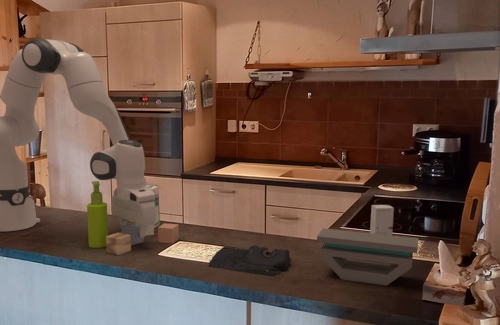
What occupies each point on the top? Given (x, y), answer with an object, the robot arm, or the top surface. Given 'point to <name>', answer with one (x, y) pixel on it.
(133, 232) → the slate-blue cube
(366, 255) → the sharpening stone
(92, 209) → the soap dispenser
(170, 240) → the terracotta cube
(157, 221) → the syrup box
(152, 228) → the cream cube
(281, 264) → the crumpled black cloth
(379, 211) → the skincare box
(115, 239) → the oak cube
